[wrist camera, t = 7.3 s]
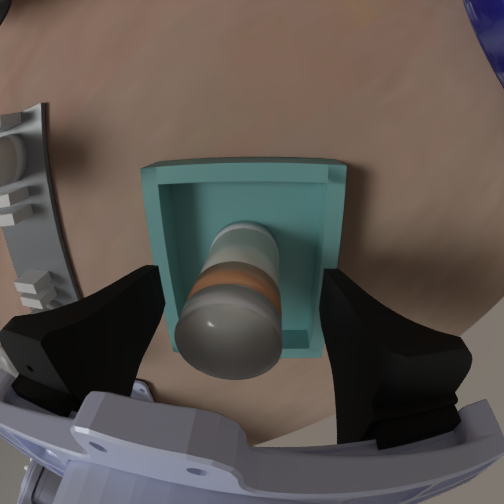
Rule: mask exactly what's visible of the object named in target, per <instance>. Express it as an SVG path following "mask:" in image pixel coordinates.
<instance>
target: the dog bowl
mask: <svg viewBox="0 0 504 504" xmlns="http://www.w3.org/2000/svg"><path fill="white" fill-rule="evenodd" d="M463 2H464V5H465V9H466V11H467V14H468V17H469V19H470V22H471V24H472V27H473V29H474V32H475V34H476V36H477V38H478V41H479V43H480V45H481V47H482V49H483V51H484V53H485V55H486V57H487V59H488V61H489V63H490V65H491V66H492V68H493V70H494V72H495V74H496V76H497V77H498V79H499V81H500V82H501V84H502V86H503V88H504V0H463Z"/></svg>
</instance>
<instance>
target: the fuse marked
mask: <svg viewBox="0 0 504 504" xmlns="http://www.w3.org/2000/svg"><path fill="white" fill-rule="evenodd" d="M278 266H279V248H278V243H277V241H276V239H275V237H274V235H273V234H272V233H271V231H270V230H269V229H267V228H266V227H265V226H263V225H262V224H259V223H257V222H254V221H249V220H240V221H235V222H232V223H230V224H228V225H226V226H224V227H223V228H222V229H221V230H220V231H219V232H218V233H217V235H216V237H215V239H214V241H213V243H212V245H211V248H210V251H209V255H208V257H207V259H206V261H205V263H204V266H203V268H202V270H201V273H200V275H199V276H198V277H197V279H196V280H195V282H194V285H193V287H192V289H191V291H190V294H189V296H188V298H187V300H186V303H185V305H184V308H183V310H182V313H181V315H180V317H179V320H178V322H177V325H176V327H175V332H174V339H175V344H176V347H177V349H178V351H179V353H180V354H181V355H182V357H183V358H184V359H185V360H186V361H187V362H188V363H189V364H190V365H191V366H193V367H194V368H196V369H197V370H199V371H201V372H203V373H205V374H207V375H210V376H213V377H217V378H221V379H228V380H243V379H249V378H253V377H257V376H259V375H262V374H264V373H265V372H267V371H269V370H270V369H271V368H272V367H273V366H274V365H275V364H276V363H277V362H278V360H279V358H280V356H281V354H282V348H283V344H282V307H281V294H280V291H279V269H278Z"/></svg>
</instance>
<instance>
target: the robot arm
mask: <svg viewBox="0 0 504 504" xmlns="http://www.w3.org/2000/svg"><path fill="white" fill-rule="evenodd" d="M165 304H166V302H165V297H164V292H163V287H162V282H161V277H160V272H159V266H158V265H145V266H143V267H141V268H139V269H137V270H135V271H133V272H131V273H130V274H128V275H126V276H124V277H123V278H121V279H119V280H118V281H116V282H114V283H112V284H111V285H109V286H107V287H105V288H103V289H101V290H100V291H98V292H96V293H94V294H92V295H90V296H88V297H85V298H83V299H81V300H78V301H76V302H73V303H70V304H67V305H65V306H62V307H59V308H55V309H52V310H48V311H44V312H40V313H35V314H28V315H22V316H15V317H13V318H12V319H11V320H10V321H9V322H8V323H7V324H6V325H5V326H4V327H3V329H2V330H1V331H0V342H1V345H2V347H3V349H4V351H5V353H6V354H7V356H8V358H9V359H10V361H11V362H12V364H13V365H14V367H15V369H16V370H17V372H18V373H19V375H18V376H17V378H15V377H14V376H12V375H11V374H10V373H8V372H6V371H4V370H2V369H0V436H1V437H2V438H3V439H4V440H6V441H7V442H8V443H10V444H11V445H12V446H14V447H15V448H17V449H18V450H20V451H21V452H23V453H24V454H26V455H27V456H28V457H30V458H31V459H32V460H31V462H30V465H29V467H28V469H27V471H26V474H25V476H24V479H23V482H22V485H21V493H20V495H19V498H18V501H17V504H417V503H420V502H422V501H425V500H428V499H430V498H432V497H435V496H437V495H440V494H442V493H445V492H447V491H449V490H451V489H453V488H456V487H458V486H460V485H462V484H465V483H467V482H469V481H470V480H472V479H473V478H475V477H476V476H477V475H479V474H480V473H482V472H483V471H484V470H486V469H487V468H488V467H489V466H491V465H492V464H493V463H494V462H496V461H497V460H498V459H500V457H502V456H503V455H504V436H503V434H502V431H501V429H500V427H499V424H498V422H497V420H496V418H495V416H494V414H493V412H492V409H491V407H490V405H489V403H488V401H487V400H486V399H484V400H481V401H478V402H476V403H473V404H470V405H467V406H465V407H463V408H461V409H460V410H459V411H457V409H456V407H455V404H456V403H457V402H458V398H457V396H456V394H455V391H456V390H457V389H458V387H459V386H460V384H461V383H462V381H463V380H464V378H465V377H466V375H467V374H468V372H469V370H470V367H471V364H472V355H471V353H470V351H469V350H468V348H467V346H466V345H465V343H464V342H463V340H462V339H461V337H458V336H454V335H450V334H446V333H443V332H439V331H436V330H433V329H430V328H428V327H425V326H423V325H420V324H418V323H415V322H413V321H411V320H409V319H407V318H405V317H403V316H401V315H399V314H397V313H396V312H394V311H392V310H391V309H389V308H387V307H386V306H384V305H383V304H381V303H380V302H378V301H377V300H376V299H374V298H373V297H372V296H370V295H369V294H368V293H366V292H365V291H364V290H363V289H362V288H360V287H359V286H358V285H357V284H356V283H354V282H353V281H352V280H351V279H350V278H349V277H348V276H346V275H345V274H344V273H343V272H342V271H340V270H339V269H327V268H324V272H323V280H322V288H321V296H320V303H319V314H320V322H321V328H322V333H323V336H324V340H325V344H326V348H327V352H328V356H329V360H330V364H331V369H332V374H333V382H334V391H335V403H336V419H337V445H326V446H314V447H313V446H311V447H281V448H280V447H254V446H249V445H247V437H246V434H245V432H244V431H243V429H242V428H241V426H240V425H239V424H238V423H237V422H235V421H233V420H231V419H229V418H227V417H225V416H223V415H222V414H220V413H215V412H211V411H206V410H202V409H198V408H190V407H183V406H176V405H169V404H163V403H157V402H155V401H154V399H153V397H152V395H151V393H150V391H149V388H148V386H147V384H146V383H144V382H142V381H138V380H135V379H136V375H137V372H138V369H139V366H140V363H141V361H142V358H143V356H144V354H145V352H146V350H147V348H148V346H149V344H150V341H151V339H152V337H153V335H154V333H155V331H156V329H157V327H158V325H159V323H160V320H161V317H162V314H163V311H164V308H165Z"/></svg>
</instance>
